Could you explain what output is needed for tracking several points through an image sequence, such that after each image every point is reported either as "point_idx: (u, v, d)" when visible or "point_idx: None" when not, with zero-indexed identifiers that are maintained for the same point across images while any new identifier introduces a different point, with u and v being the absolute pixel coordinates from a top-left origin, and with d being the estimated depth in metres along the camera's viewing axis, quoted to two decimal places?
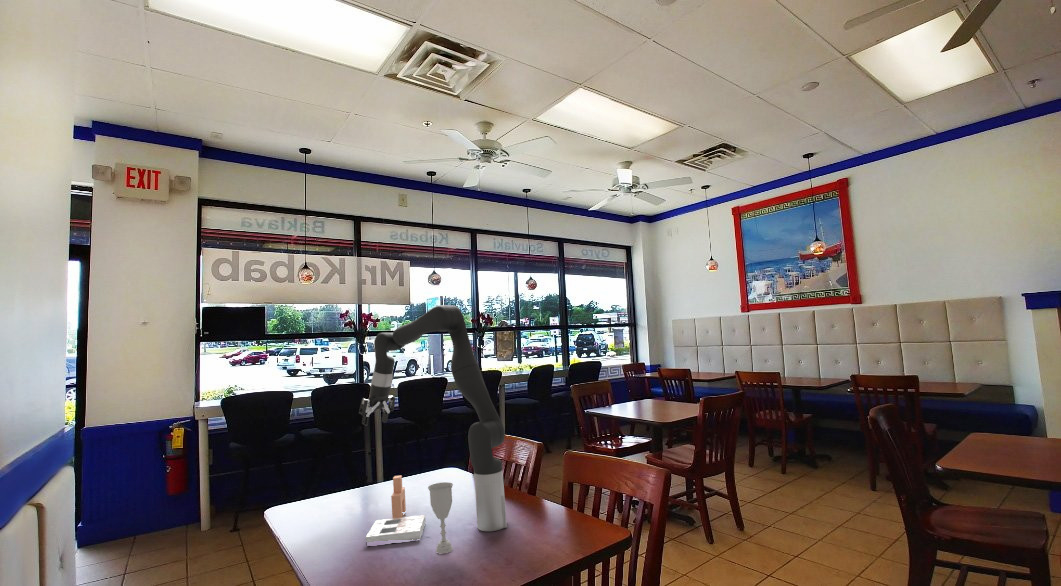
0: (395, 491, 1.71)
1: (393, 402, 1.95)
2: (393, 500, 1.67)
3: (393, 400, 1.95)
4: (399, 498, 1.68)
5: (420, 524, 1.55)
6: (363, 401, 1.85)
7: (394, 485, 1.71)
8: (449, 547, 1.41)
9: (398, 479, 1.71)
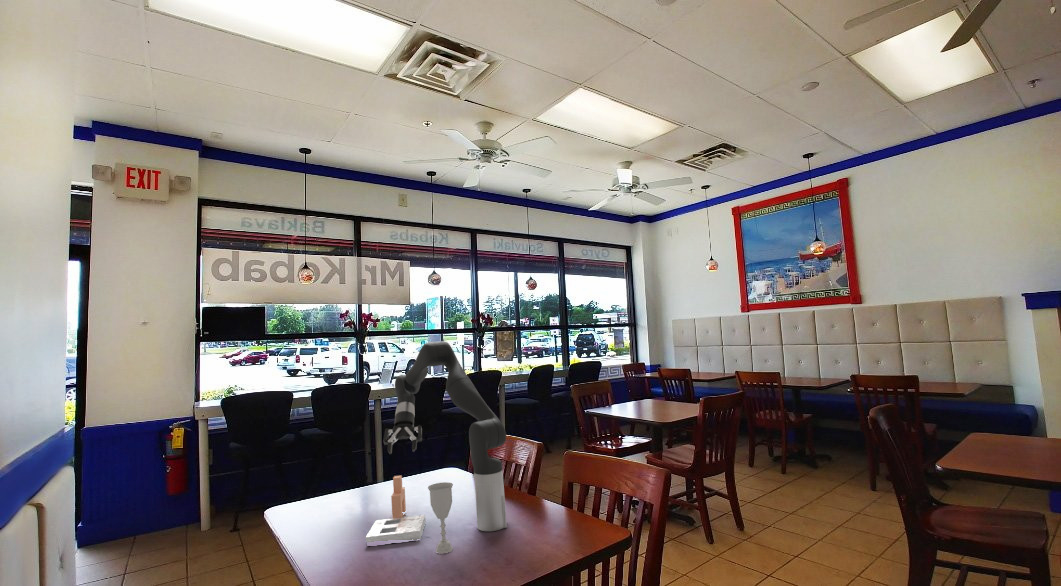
0: (395, 491, 1.71)
1: (419, 430, 1.91)
2: (393, 500, 1.67)
3: (419, 428, 1.91)
4: (399, 498, 1.68)
5: (420, 524, 1.55)
6: None
7: (394, 485, 1.71)
8: (449, 547, 1.41)
9: (398, 479, 1.71)
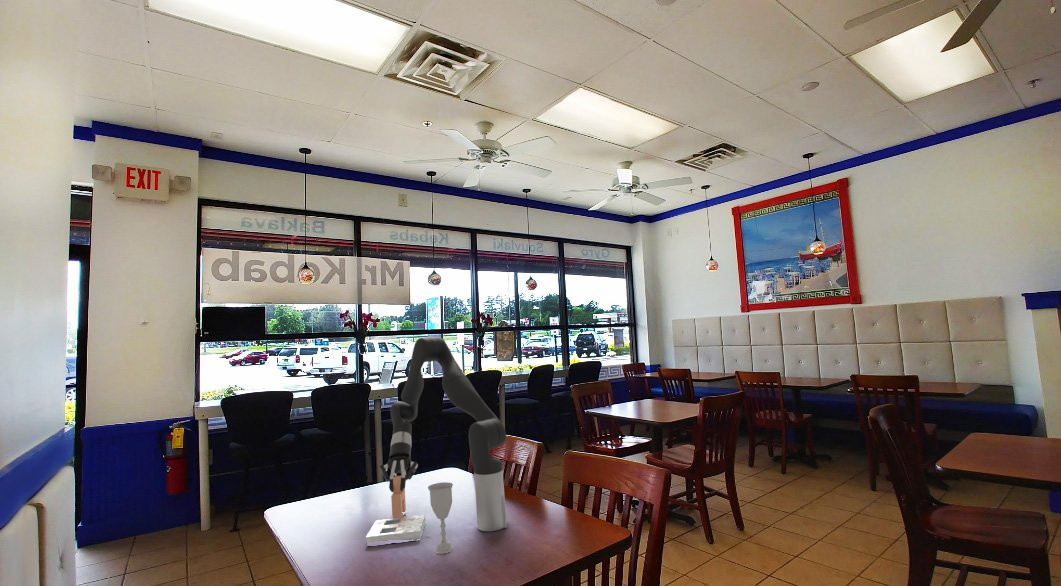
0: (395, 491, 1.71)
1: (412, 467, 1.76)
2: (393, 500, 1.67)
3: (413, 464, 1.77)
4: (399, 498, 1.68)
5: (420, 524, 1.55)
6: None
7: (394, 485, 1.71)
8: (449, 547, 1.41)
9: (398, 479, 1.71)
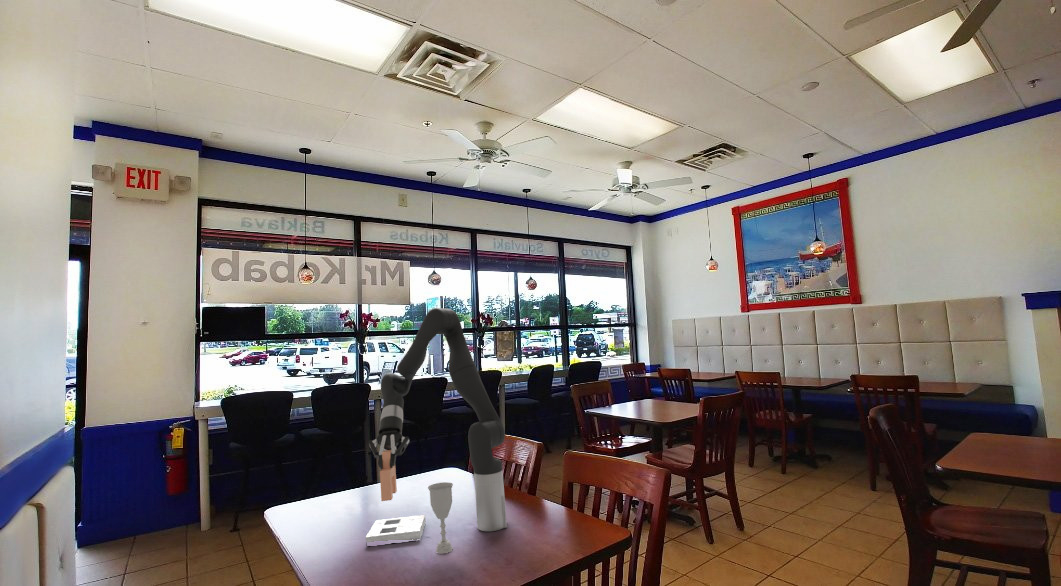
0: (384, 466, 1.57)
1: (404, 442, 1.61)
2: (382, 476, 1.53)
3: (405, 440, 1.62)
4: (388, 474, 1.53)
5: (420, 524, 1.55)
6: (369, 444, 1.62)
7: (383, 460, 1.57)
8: (449, 547, 1.41)
9: (387, 453, 1.57)
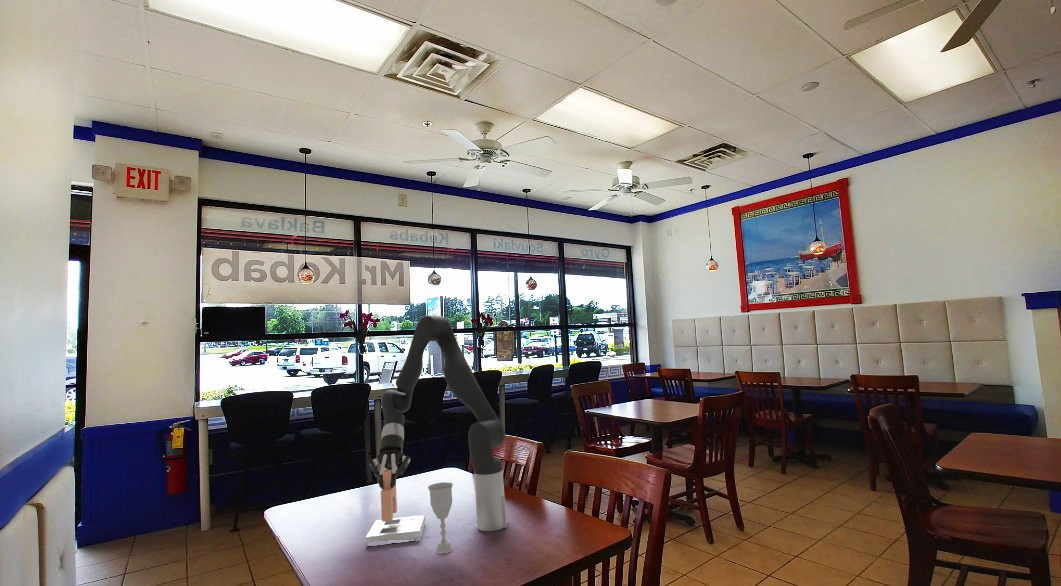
0: (385, 486, 1.56)
1: (404, 461, 1.61)
2: (382, 496, 1.52)
3: (405, 459, 1.61)
4: (389, 494, 1.53)
5: (420, 524, 1.55)
6: None
7: (384, 480, 1.56)
8: (449, 547, 1.41)
9: (388, 473, 1.56)
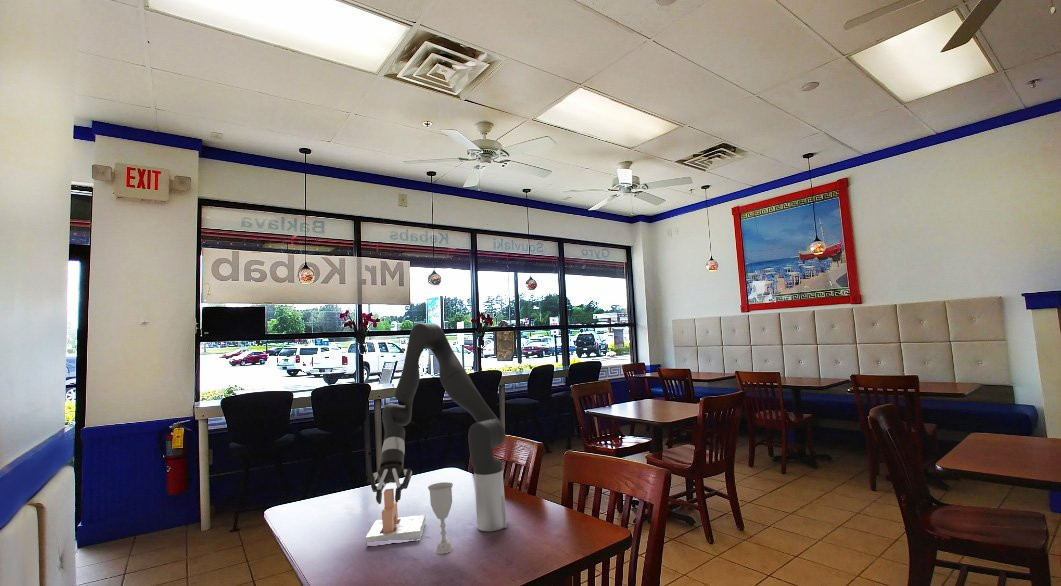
0: (386, 506, 1.55)
1: (407, 474, 1.61)
2: (384, 516, 1.52)
3: (408, 472, 1.61)
4: (390, 514, 1.52)
5: (420, 524, 1.55)
6: (370, 476, 1.61)
7: (385, 499, 1.55)
8: (449, 547, 1.41)
9: (389, 493, 1.56)
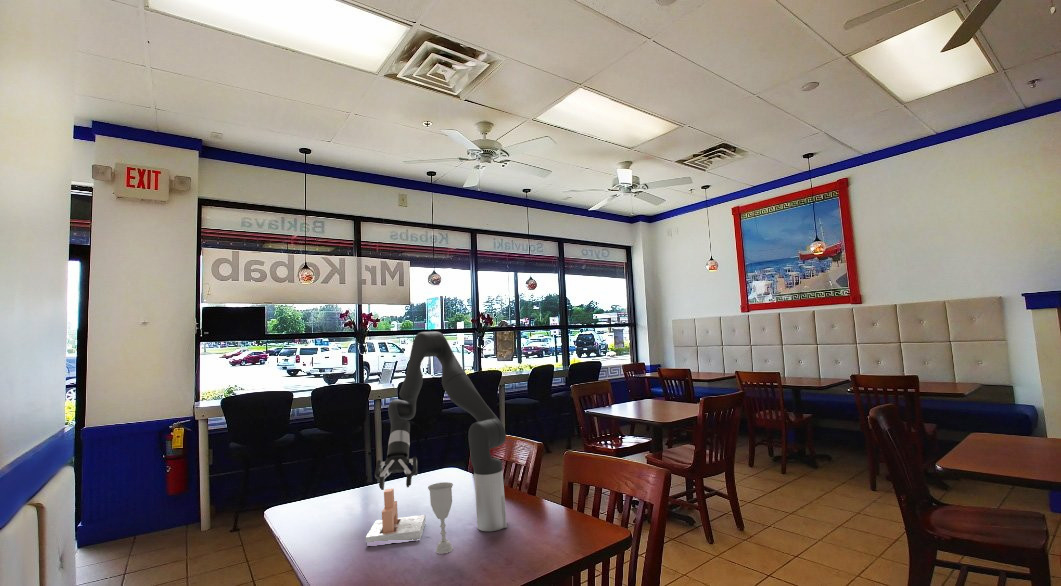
0: (386, 506, 1.55)
1: (414, 462, 1.74)
2: (384, 516, 1.52)
3: (414, 460, 1.74)
4: (390, 514, 1.52)
5: (420, 524, 1.55)
6: None
7: (385, 499, 1.55)
8: (449, 547, 1.41)
9: (389, 493, 1.56)
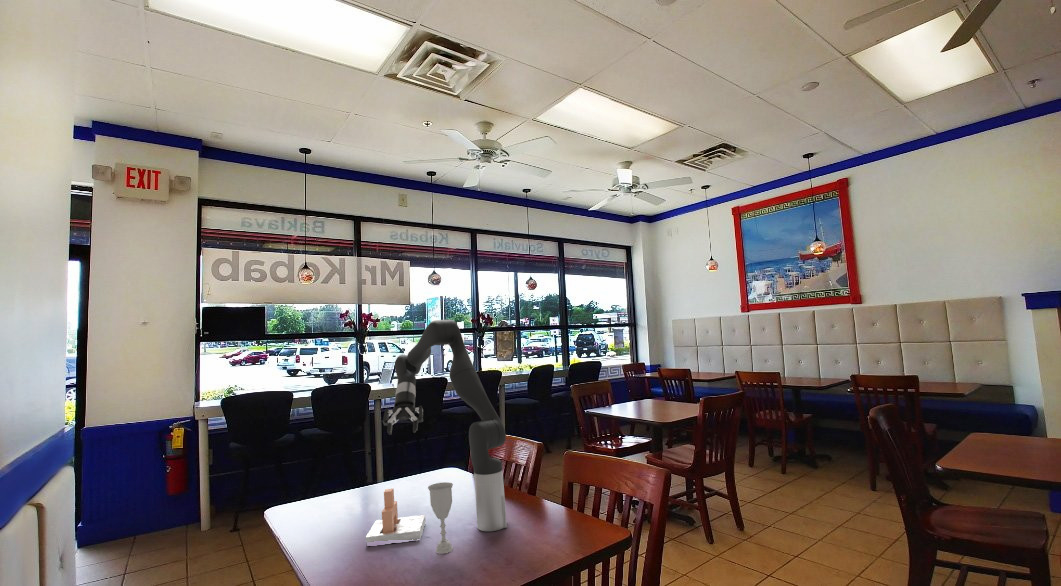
0: (386, 506, 1.55)
1: (420, 410, 1.83)
2: (384, 516, 1.52)
3: (420, 408, 1.84)
4: (390, 514, 1.52)
5: (420, 524, 1.55)
6: None
7: (385, 499, 1.55)
8: (449, 547, 1.41)
9: (389, 493, 1.56)
